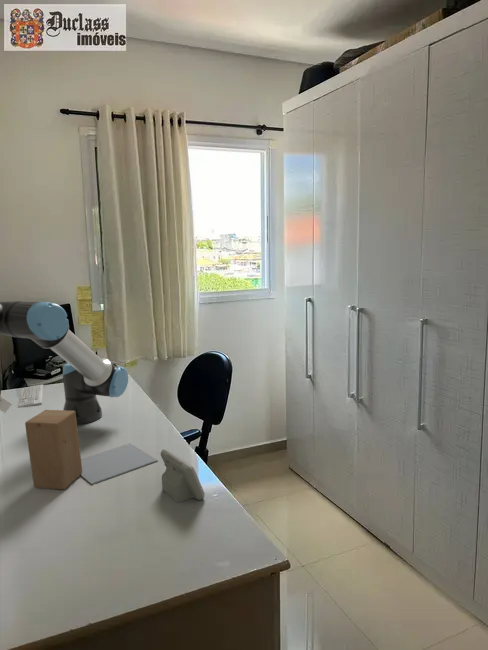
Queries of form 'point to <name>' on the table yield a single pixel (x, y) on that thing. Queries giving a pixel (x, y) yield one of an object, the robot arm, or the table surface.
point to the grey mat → (114, 463)
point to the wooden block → (54, 449)
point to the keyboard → (30, 396)
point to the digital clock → (180, 478)
